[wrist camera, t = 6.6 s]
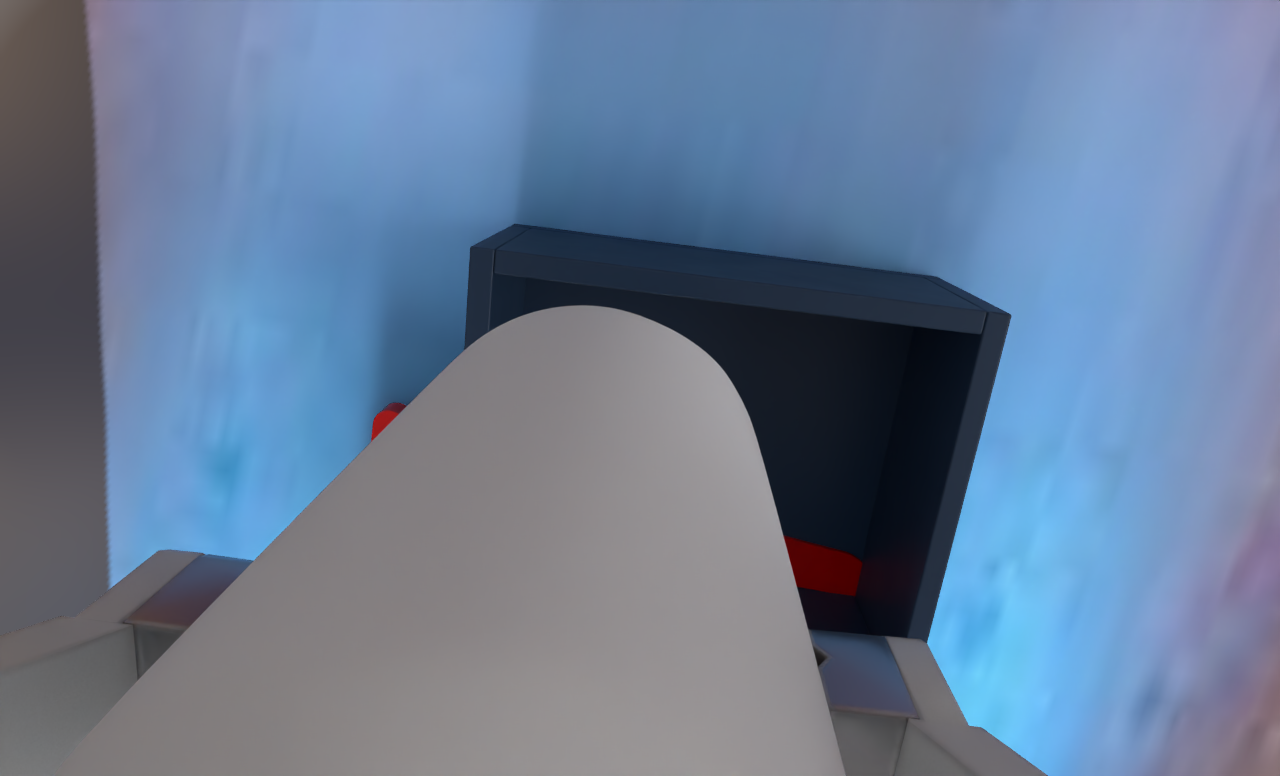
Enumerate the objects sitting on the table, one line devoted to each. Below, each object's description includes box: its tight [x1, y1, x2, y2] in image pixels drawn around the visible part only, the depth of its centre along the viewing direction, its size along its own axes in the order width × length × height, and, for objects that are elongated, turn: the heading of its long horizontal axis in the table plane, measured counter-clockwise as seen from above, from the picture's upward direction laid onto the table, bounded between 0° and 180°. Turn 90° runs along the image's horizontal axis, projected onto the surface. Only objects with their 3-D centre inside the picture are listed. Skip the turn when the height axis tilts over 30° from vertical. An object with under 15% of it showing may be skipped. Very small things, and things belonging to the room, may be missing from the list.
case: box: [464, 224, 1011, 643], centre depth 28 cm, size 13×15×7 cm
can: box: [53, 305, 846, 776], centre depth 10 cm, size 6×6×12 cm
